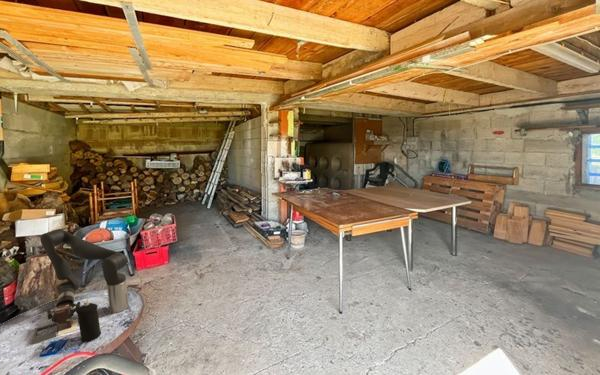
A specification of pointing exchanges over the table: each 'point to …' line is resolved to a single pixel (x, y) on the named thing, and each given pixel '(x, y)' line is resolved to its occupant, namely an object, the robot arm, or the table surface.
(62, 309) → the box
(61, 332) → the pad
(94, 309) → the aerosol can
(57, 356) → the table surface
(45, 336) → the open rectangular frame
